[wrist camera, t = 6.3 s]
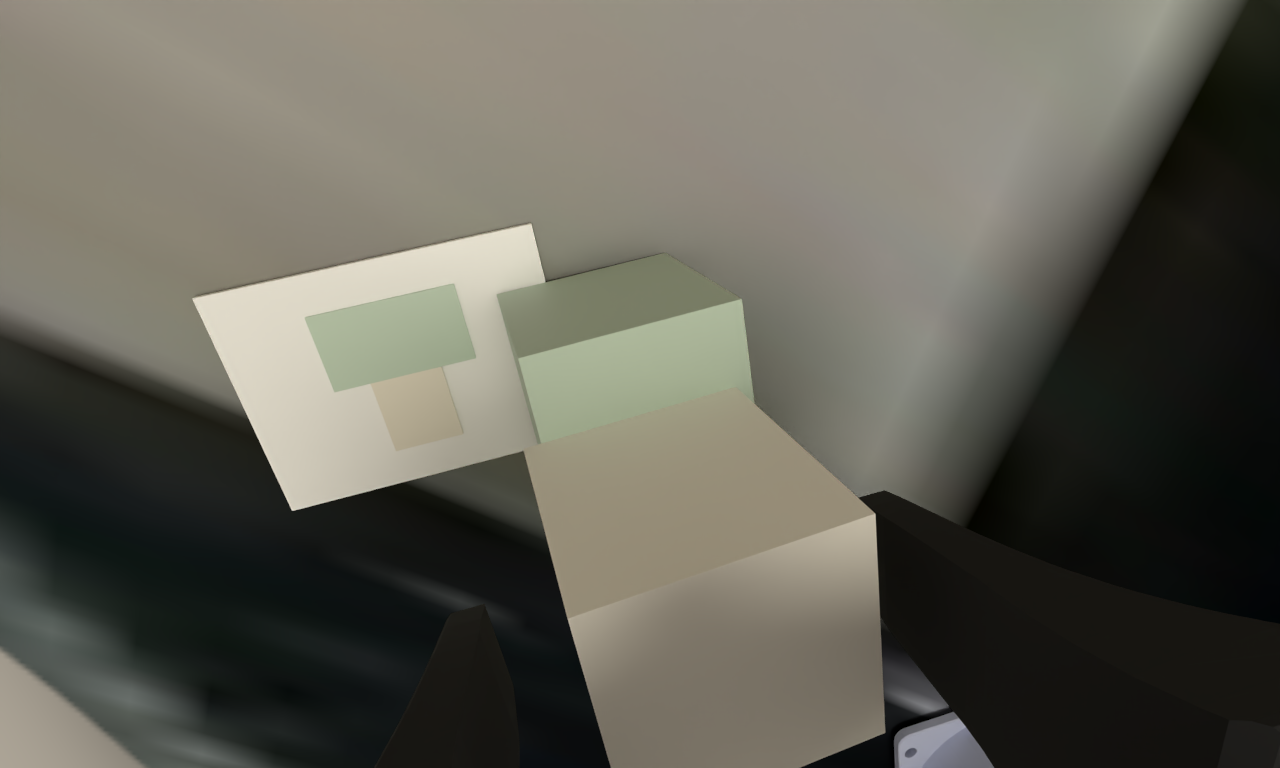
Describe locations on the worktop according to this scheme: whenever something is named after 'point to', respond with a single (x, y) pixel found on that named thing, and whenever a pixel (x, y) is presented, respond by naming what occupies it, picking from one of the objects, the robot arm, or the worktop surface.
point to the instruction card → (380, 364)
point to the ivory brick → (714, 588)
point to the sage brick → (623, 343)
